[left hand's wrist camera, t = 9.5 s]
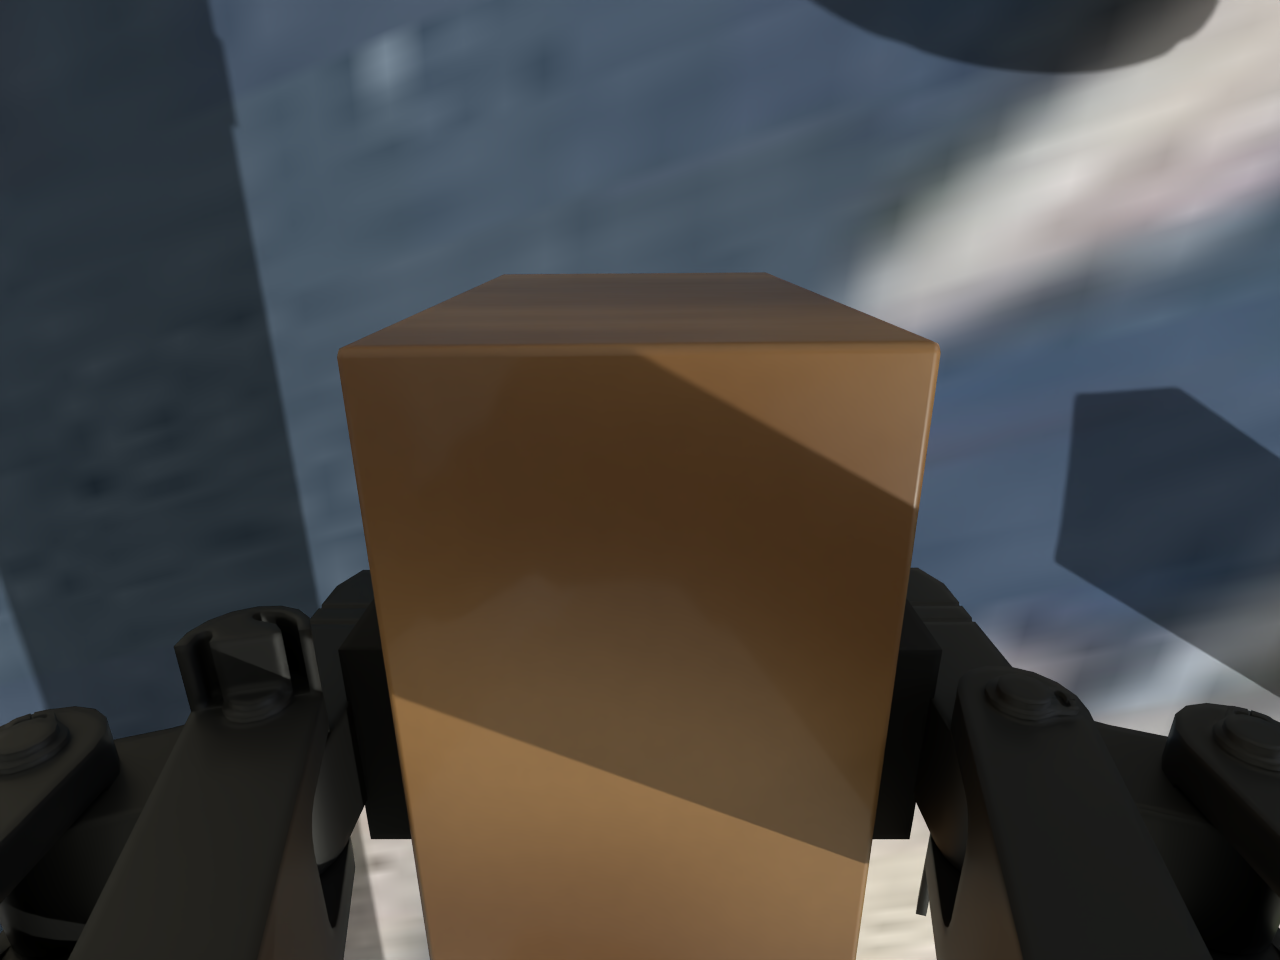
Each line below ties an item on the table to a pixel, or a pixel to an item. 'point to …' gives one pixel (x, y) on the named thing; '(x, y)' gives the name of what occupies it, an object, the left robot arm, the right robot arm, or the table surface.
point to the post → (640, 606)
